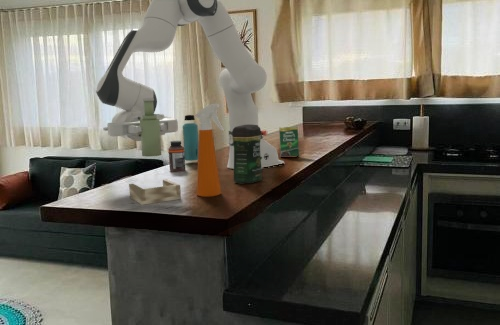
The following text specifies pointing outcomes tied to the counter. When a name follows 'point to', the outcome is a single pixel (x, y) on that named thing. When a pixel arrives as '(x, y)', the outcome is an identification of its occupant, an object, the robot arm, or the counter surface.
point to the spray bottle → (207, 153)
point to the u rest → (155, 193)
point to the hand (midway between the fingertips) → (151, 128)
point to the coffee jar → (247, 154)
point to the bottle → (150, 130)
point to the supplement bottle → (176, 157)
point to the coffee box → (289, 141)
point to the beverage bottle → (190, 139)
